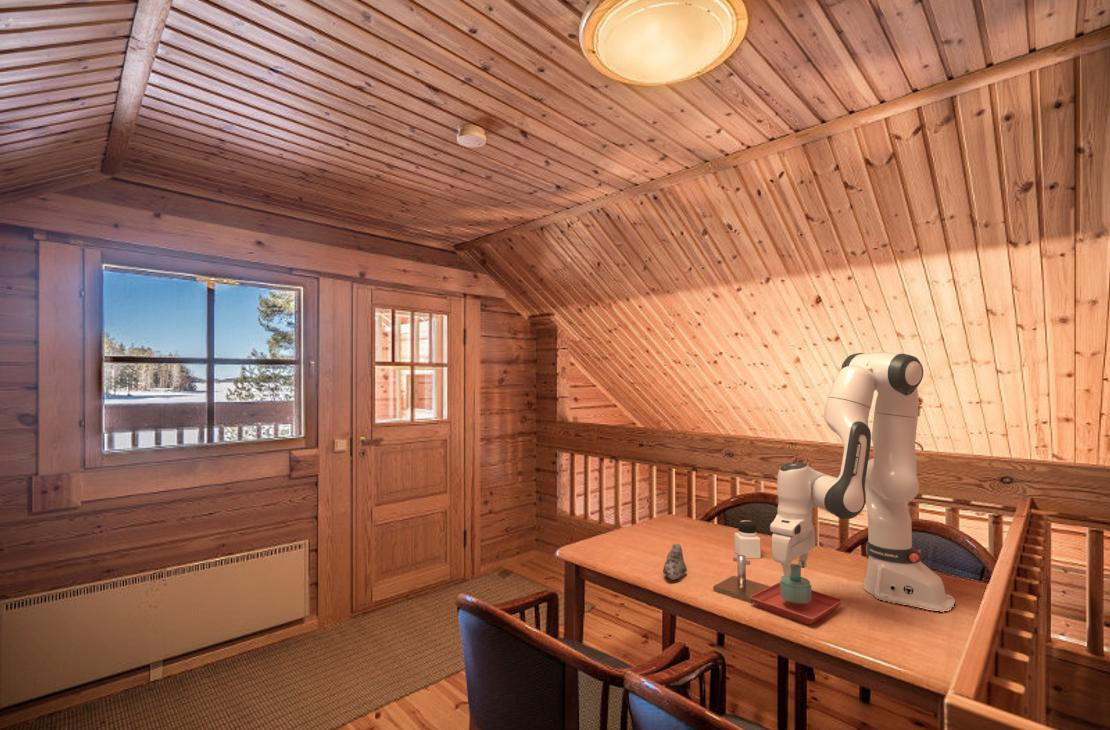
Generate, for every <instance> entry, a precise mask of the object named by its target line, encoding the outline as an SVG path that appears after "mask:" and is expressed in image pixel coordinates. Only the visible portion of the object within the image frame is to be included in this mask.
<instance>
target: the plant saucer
mask: <svg viewBox="0 0 1110 730" xmlns="http://www.w3.org/2000/svg"><path fill="white" fill-rule="evenodd" d="M769 586H770V587H769V588H766V589H764V590H762V591H760V592H758V593H756V594H754V595H752V596H750V598H751V600H752V601H753V603H754V604H755V605H756V606H757V608H760V609H763V610H765V611H767V612H770V613H771V612H772V613H774V614H776V615H779V616H782V617H784V618H788V619H790V620H792V621H795V622H798V623H801V624H804V625H807V626H810V625H812V624H814V623H816V622H817V621H819V620H821V619H822V618H823V617H825V616H827V615H829V614H830V613H832V612H834V611H835V610H836V609H837V608H838V607H839V606H840V605H841V603H843V599H841V598H839V597H835V596H833V595H829V594H825V593H822V592H819V591H816V590H813V589H811V601H809V602H808V603H794V602H790V601H787V600H784V599H783V598H782V597H781V596H780V581H778V582H777V583H774V584H773V585H769ZM828 613H829V614H828Z"/></svg>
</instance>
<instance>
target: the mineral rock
mask: <svg viewBox="0 0 1110 730" xmlns="http://www.w3.org/2000/svg"><path fill="white" fill-rule="evenodd" d="M687 572H688V568H687V565H686V563H685V559H684V554H683V549H682V545H681V544H680V543H678V542H677V543H674V542H673V543H672V545H671V549H670V550H669V552H668V553H667V556H666V560H665V562H664V565H663V570H662V573H663V574H664V575H665V576H666V577H667V578H668V579H670V580H673V581H674V580H678V579H680V578H682V577H683V576H684V575H686V573H687Z"/></svg>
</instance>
